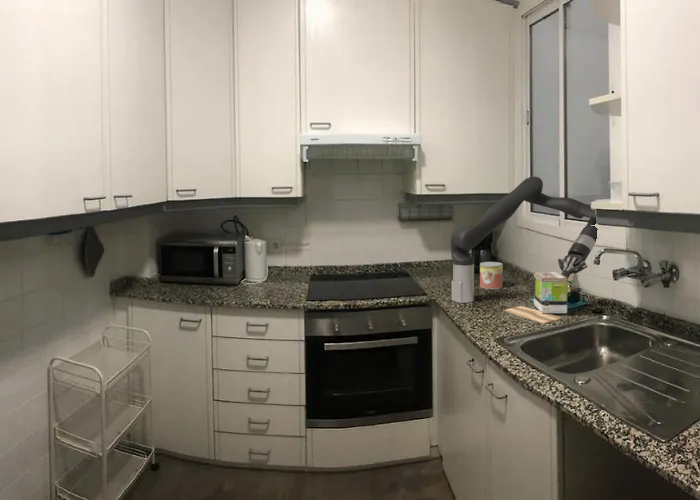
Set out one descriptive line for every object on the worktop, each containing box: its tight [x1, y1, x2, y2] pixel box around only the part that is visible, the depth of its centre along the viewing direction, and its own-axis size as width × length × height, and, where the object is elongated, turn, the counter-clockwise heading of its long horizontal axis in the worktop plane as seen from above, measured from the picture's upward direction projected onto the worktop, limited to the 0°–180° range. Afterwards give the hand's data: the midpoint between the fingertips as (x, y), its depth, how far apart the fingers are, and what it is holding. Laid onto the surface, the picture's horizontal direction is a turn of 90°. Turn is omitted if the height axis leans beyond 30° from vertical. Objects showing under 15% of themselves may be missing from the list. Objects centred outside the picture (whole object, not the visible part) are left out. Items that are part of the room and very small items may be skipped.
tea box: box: [533, 271, 568, 314], centre depth 178 cm, size 15×10×15 cm
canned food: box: [479, 261, 504, 290], centre depth 222 cm, size 11×11×12 cm
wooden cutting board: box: [502, 305, 564, 324], centre depth 174 cm, size 11×20×1 cm, turn 28°
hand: (562, 279), depth 180 cm, fingers closed
